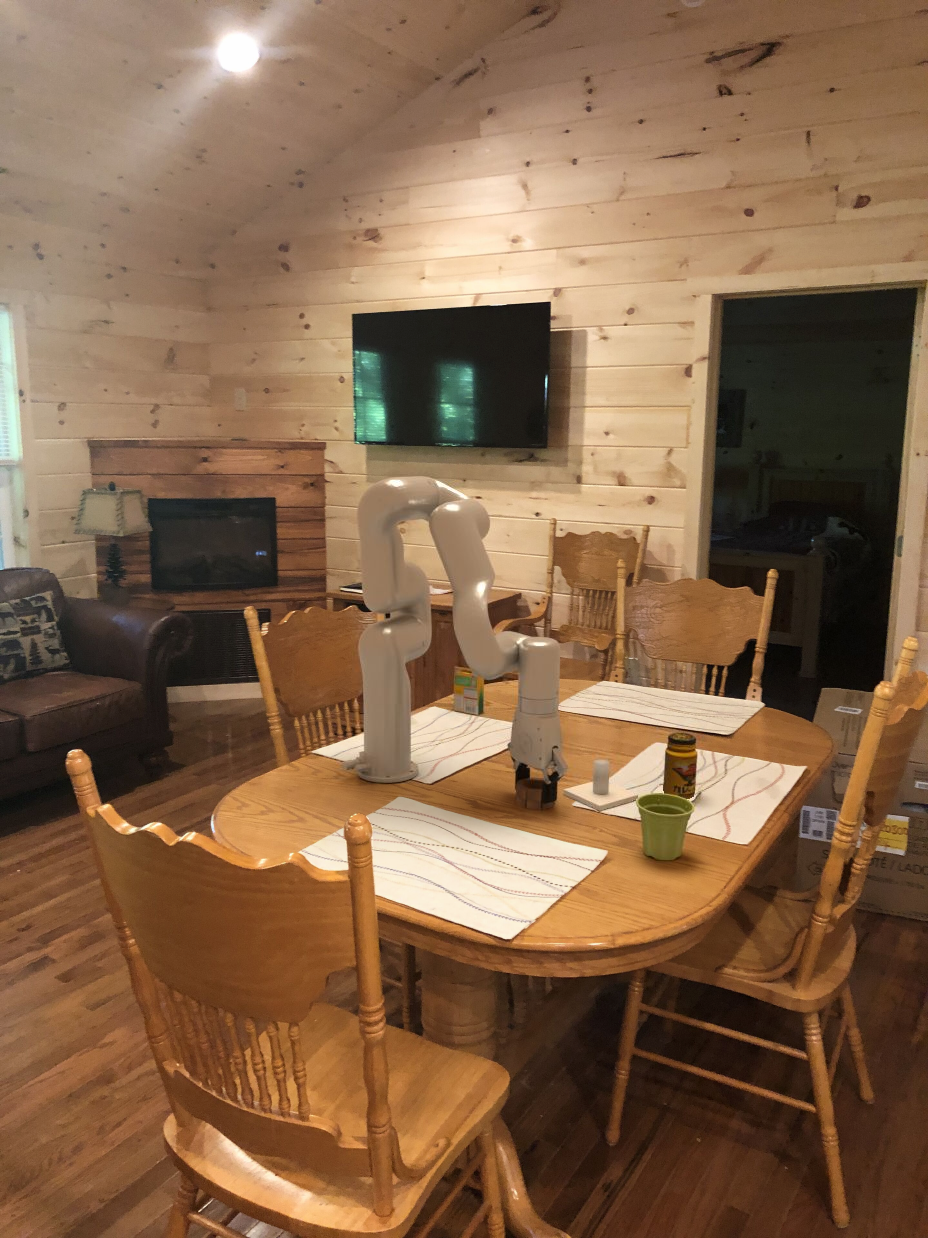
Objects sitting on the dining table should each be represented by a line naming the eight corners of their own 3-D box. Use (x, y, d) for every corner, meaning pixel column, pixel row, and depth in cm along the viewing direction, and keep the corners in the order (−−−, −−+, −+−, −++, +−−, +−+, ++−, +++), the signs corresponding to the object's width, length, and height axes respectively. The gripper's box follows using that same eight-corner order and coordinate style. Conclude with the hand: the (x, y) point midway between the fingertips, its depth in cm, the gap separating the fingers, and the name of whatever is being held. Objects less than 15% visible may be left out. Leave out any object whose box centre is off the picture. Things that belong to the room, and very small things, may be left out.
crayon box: (484, 712, 232) (484, 667, 230) (477, 715, 230) (478, 670, 228) (459, 708, 236) (460, 664, 234) (453, 710, 234) (453, 666, 232)
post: (599, 811, 170) (601, 774, 169) (563, 794, 178) (564, 759, 177) (637, 799, 176) (639, 764, 175) (601, 784, 184) (602, 750, 183)
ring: (532, 812, 169) (533, 794, 168) (508, 800, 175) (508, 782, 174) (562, 804, 173) (563, 786, 173) (537, 792, 179) (538, 775, 178)
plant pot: (682, 841, 157) (685, 793, 156) (698, 866, 148) (701, 815, 147) (628, 841, 157) (630, 793, 156) (640, 866, 148) (643, 815, 146)
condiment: (690, 805, 174) (694, 744, 171) (647, 796, 178) (650, 736, 176) (701, 793, 180) (705, 733, 178) (659, 784, 184) (662, 726, 182)
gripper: (493, 696, 175) (491, 785, 179) (553, 719, 161) (550, 815, 165) (524, 691, 180) (521, 778, 183) (585, 712, 166) (582, 806, 169)
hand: (535, 794), depth 174 cm, fingers closed on ring, 7 cm apart
